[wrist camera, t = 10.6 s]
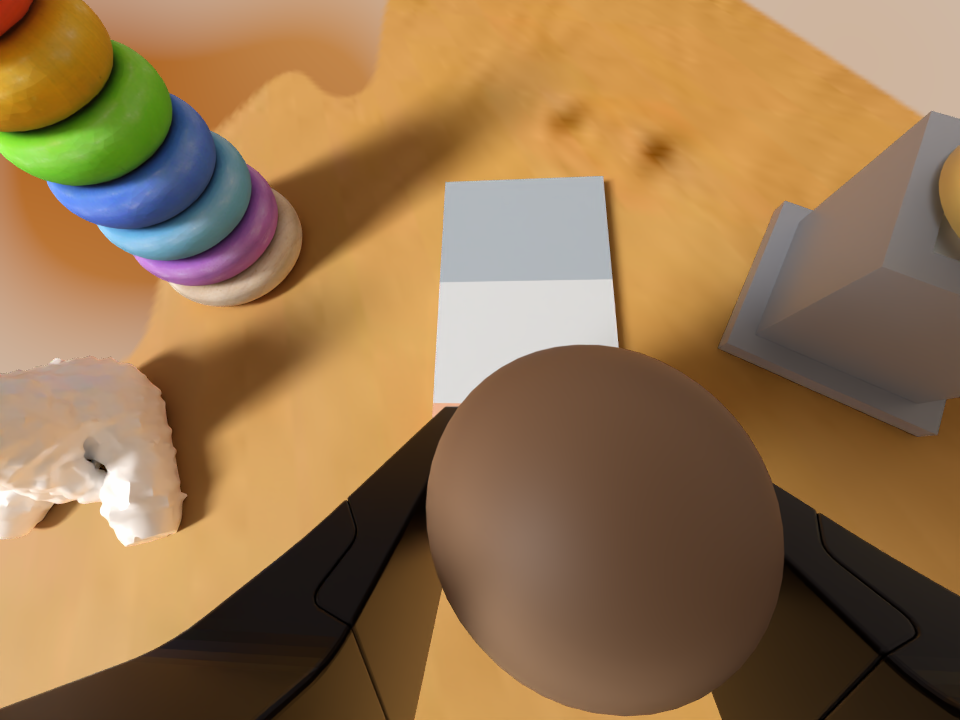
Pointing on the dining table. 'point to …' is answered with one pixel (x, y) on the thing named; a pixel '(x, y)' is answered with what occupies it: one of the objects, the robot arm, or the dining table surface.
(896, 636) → the robot arm
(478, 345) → the game board
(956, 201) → the dome button
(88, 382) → the seated beast figurine
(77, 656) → the dining table surface
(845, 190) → the box
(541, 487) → the brown round-topped post
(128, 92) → the stacking toy
